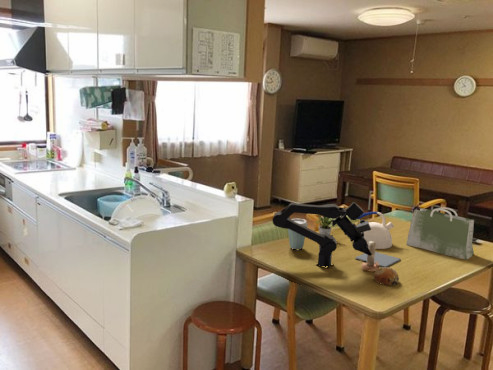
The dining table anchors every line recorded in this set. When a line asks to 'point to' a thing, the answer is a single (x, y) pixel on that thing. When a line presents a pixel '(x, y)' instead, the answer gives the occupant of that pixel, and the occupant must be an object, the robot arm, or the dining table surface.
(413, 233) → the grocery bag
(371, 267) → the cylinder on pink base
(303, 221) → the disposable coffee cup
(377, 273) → the bread roll
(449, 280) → the dining table surface
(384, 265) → the mat
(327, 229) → the house plant
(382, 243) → the kettle
